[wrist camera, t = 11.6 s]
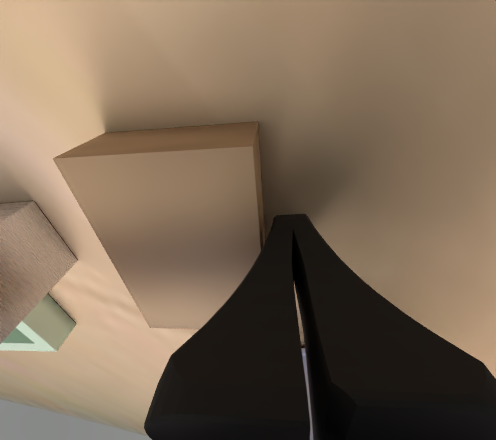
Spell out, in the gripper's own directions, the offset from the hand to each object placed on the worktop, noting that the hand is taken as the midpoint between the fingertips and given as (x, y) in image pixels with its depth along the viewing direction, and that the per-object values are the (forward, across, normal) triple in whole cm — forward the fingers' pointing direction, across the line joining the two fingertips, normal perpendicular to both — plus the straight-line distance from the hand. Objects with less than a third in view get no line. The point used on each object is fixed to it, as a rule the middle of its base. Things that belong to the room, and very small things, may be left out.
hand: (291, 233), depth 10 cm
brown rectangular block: (+1, +4, 0) cm, 4 cm away
